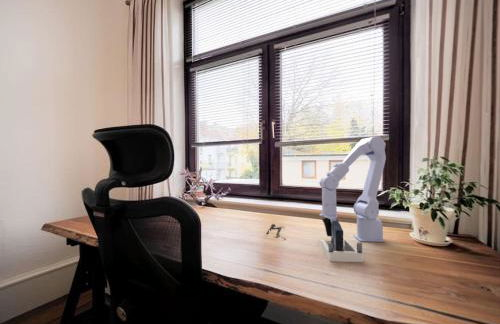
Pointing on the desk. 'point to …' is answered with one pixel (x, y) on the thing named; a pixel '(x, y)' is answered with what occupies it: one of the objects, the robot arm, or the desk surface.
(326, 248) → the rail dock
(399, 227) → the desk surface
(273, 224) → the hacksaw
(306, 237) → the desk surface
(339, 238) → the vhs cassette tape
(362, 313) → the desk surface
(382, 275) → the desk surface
